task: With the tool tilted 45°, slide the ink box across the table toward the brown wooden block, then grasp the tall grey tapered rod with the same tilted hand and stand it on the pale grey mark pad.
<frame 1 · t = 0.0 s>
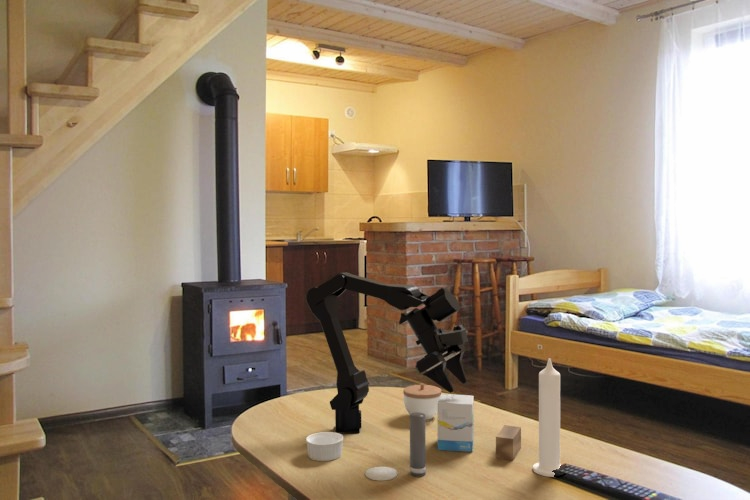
hand: (458, 387, 152), 15 cm above the table, tool tilted 35°, fingers open, 9 cm apart
brown wooden block: (508, 452, 150), on the table
mark pad: (381, 474, 138), on the table
ink box: (456, 446, 155), on the table
grey tapered rod: (417, 473, 138), on the table
ramekin: (324, 456, 149), on the table
candle: (549, 471, 138), on the table
lidded jar: (422, 417, 178), on the table
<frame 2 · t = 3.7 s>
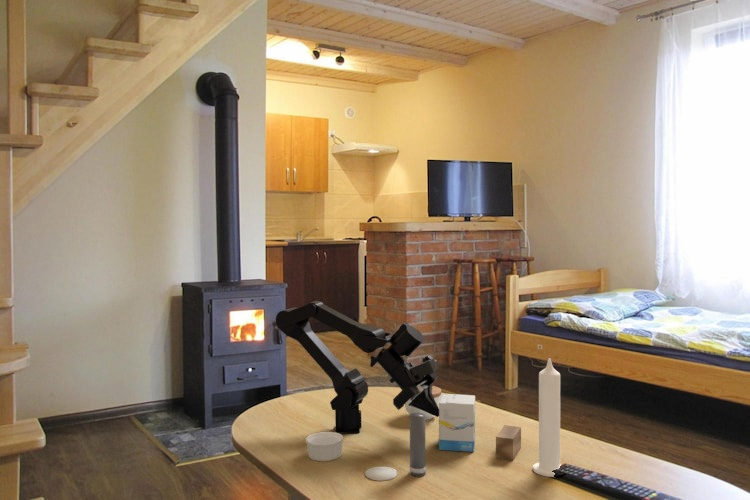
hand: (439, 415, 156), 7 cm above the table, tool tilted 45°, fingers closed
ink box: (457, 446, 155), on the table, touching gripper
everything else where it was.
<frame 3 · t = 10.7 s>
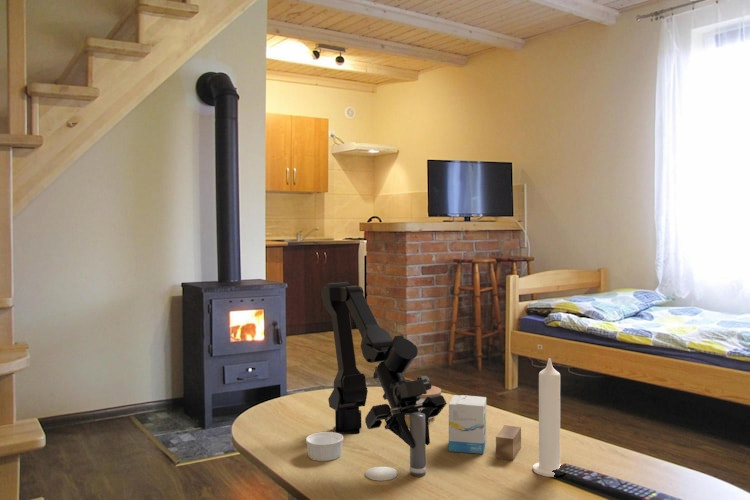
hand: (421, 445, 136), 7 cm above the table, tool tilted 45°, fingers closed on grey tapered rod, 3 cm apart
ink box: (467, 447, 154), on the table
grey tapered rod: (417, 473, 138), on the table, touching gripper
everything else where it was.
when the fingers open (8 cm above the table, at t = 14.3 s): grey tapered rod stays where it is, resting on mark pad.
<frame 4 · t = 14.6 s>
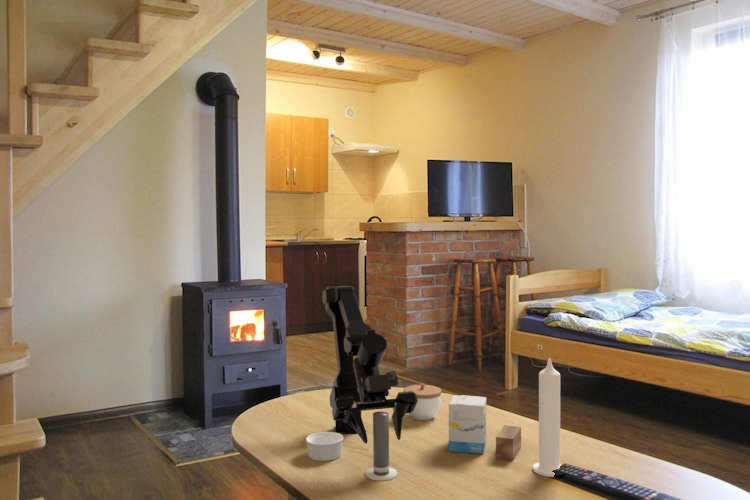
hand: (382, 440, 136), 8 cm above the table, tool tilted 45°, fingers open, 7 cm apart
grey tapered rod: (381, 472, 138), resting on mark pad
everything else where it was.
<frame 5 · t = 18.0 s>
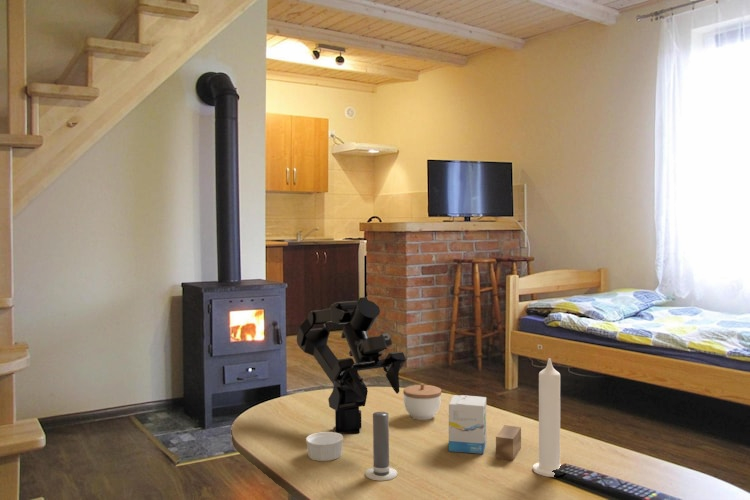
hand: (381, 395, 151), 14 cm above the table, tool tilted 45°, fingers open, 9 cm apart
nothing on the table moved.
at the end: ink box moved 3.0 cm from its start; grey tapered rod 0.0 cm from the mark pad (horizontally); grey tapered rod tilted 0° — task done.
